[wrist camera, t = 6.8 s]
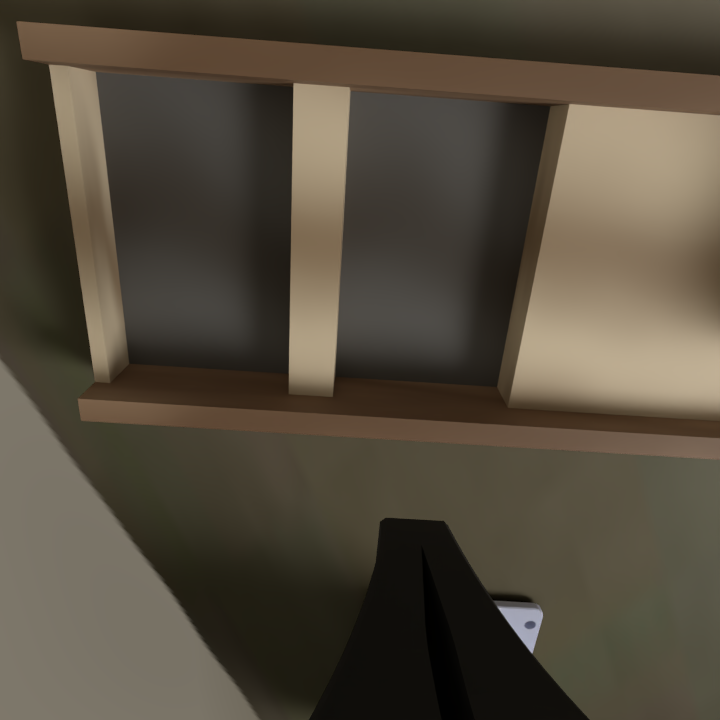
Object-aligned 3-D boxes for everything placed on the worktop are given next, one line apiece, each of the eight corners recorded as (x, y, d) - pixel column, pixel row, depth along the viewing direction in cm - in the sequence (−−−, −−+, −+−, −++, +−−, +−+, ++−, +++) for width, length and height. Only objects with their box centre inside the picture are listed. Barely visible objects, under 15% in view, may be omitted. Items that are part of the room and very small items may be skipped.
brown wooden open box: (898, 426, 21) (1031, 500, 17) (122, 378, 20) (60, 442, 16) (1067, 116, 16) (1305, 113, 12) (80, 40, 16) (-20, 9, 12)
